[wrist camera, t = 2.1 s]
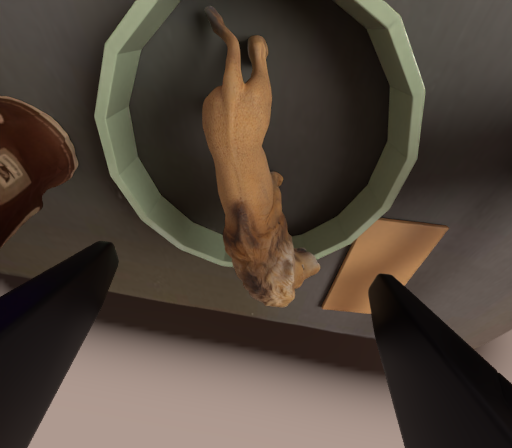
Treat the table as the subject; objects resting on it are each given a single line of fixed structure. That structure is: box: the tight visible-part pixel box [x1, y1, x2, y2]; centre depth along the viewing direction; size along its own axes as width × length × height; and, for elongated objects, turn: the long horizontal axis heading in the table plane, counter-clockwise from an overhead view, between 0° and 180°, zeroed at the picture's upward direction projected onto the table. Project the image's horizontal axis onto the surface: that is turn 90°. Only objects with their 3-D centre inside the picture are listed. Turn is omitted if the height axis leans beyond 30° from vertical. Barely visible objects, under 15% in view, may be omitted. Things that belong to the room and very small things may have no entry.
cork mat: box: [322, 218, 449, 314], centre depth 25 cm, size 7×13×1 cm, turn 173°
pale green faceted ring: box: [94, 0, 426, 267], centre depth 16 cm, size 18×18×3 cm
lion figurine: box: [202, 6, 320, 307], centre depth 14 cm, size 15×5×9 cm, turn 17°
